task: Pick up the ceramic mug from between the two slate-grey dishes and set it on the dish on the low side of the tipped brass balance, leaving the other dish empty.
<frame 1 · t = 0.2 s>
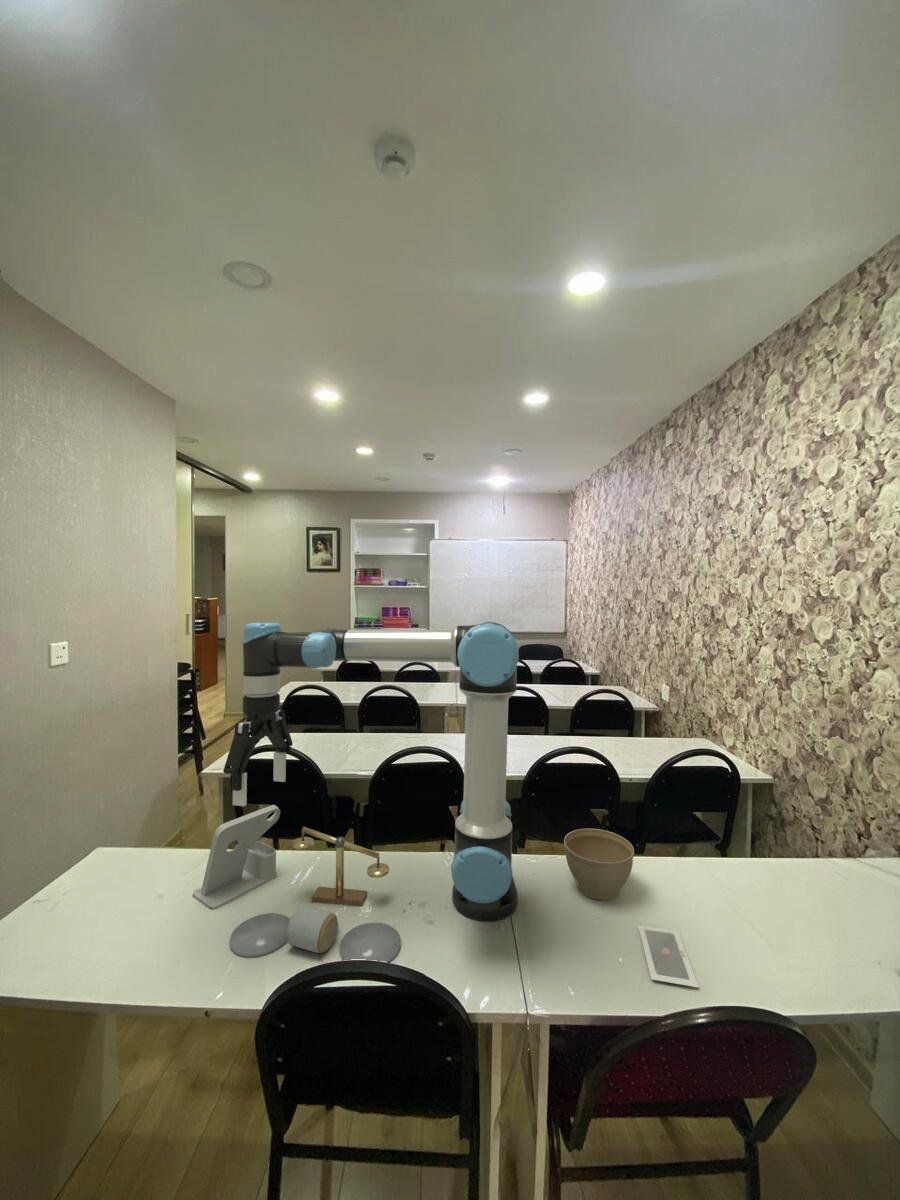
hand: (260, 792, 102), 28 cm above the table, fingers open, 13 cm apart
balance: (339, 898, 110), on the table
ceramic mug: (315, 942, 96), on the table
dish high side: (261, 936, 97), on the table
phone holder: (237, 885, 115), on the table
dish low side: (370, 946, 94), on the table
planter bowl: (598, 890, 114), on the table
touchpad: (665, 960, 92), on the table
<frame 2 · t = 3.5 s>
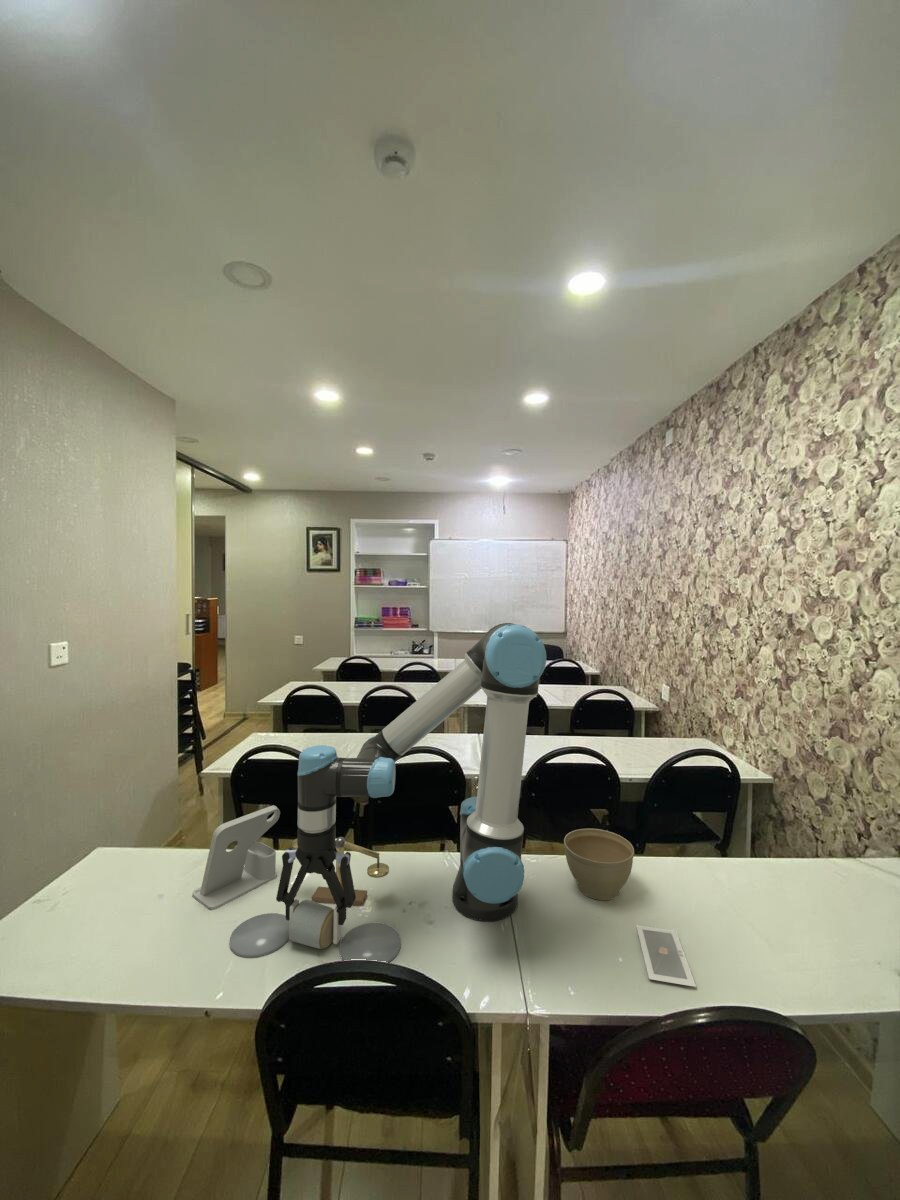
hand: (315, 937, 96), 1 cm above the table, fingers closed on ceramic mug, 8 cm apart
ceramic mug: (317, 938, 97), on the table, touching gripper
everything else where it was.
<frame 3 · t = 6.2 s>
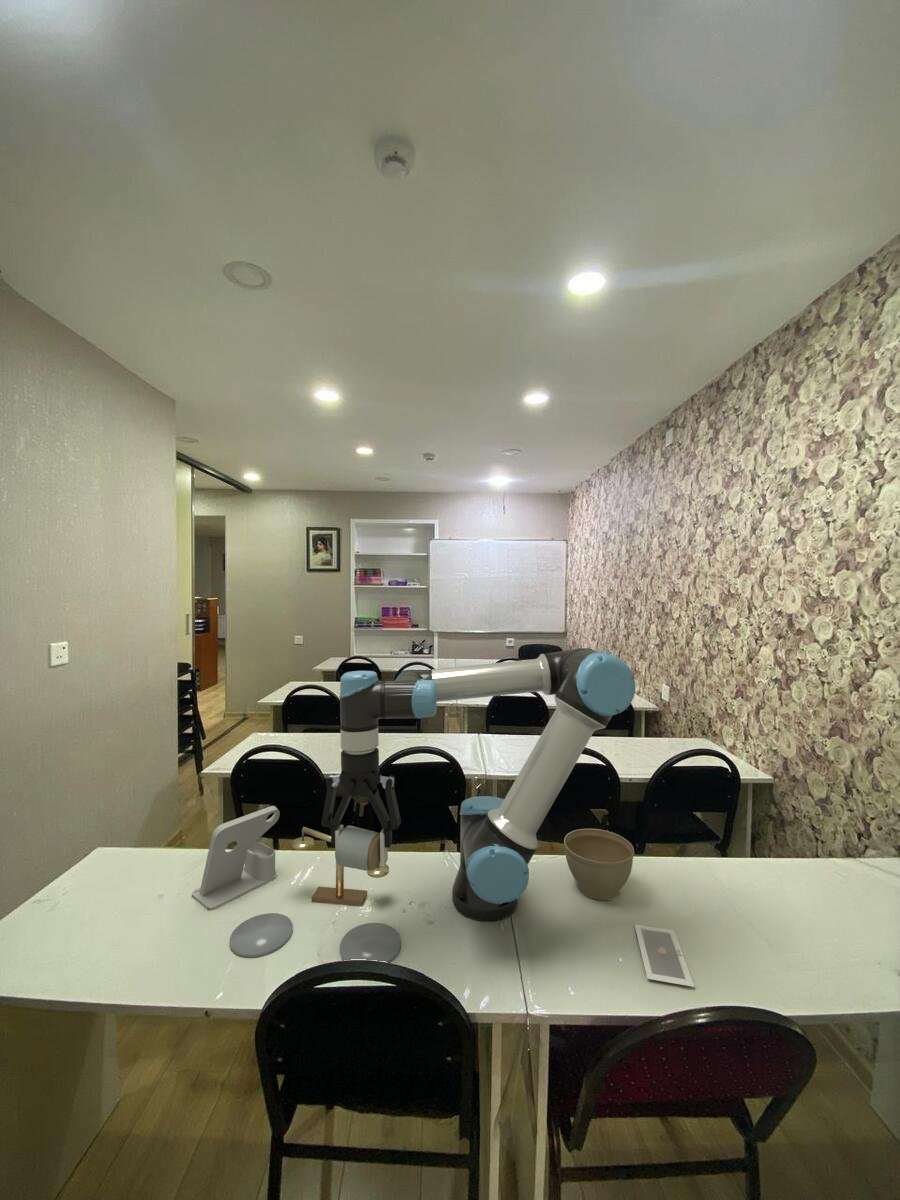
hand: (361, 861, 95), 17 cm above the table, fingers closed on ceramic mug, 8 cm apart
ceramic mug: (363, 863, 96), point 16 cm above the table, touching gripper
everything else where it was.
when the fingers open (3 cm above the table, at t = 8.9 s): ceramic mug stays where it is, resting on dish low side.
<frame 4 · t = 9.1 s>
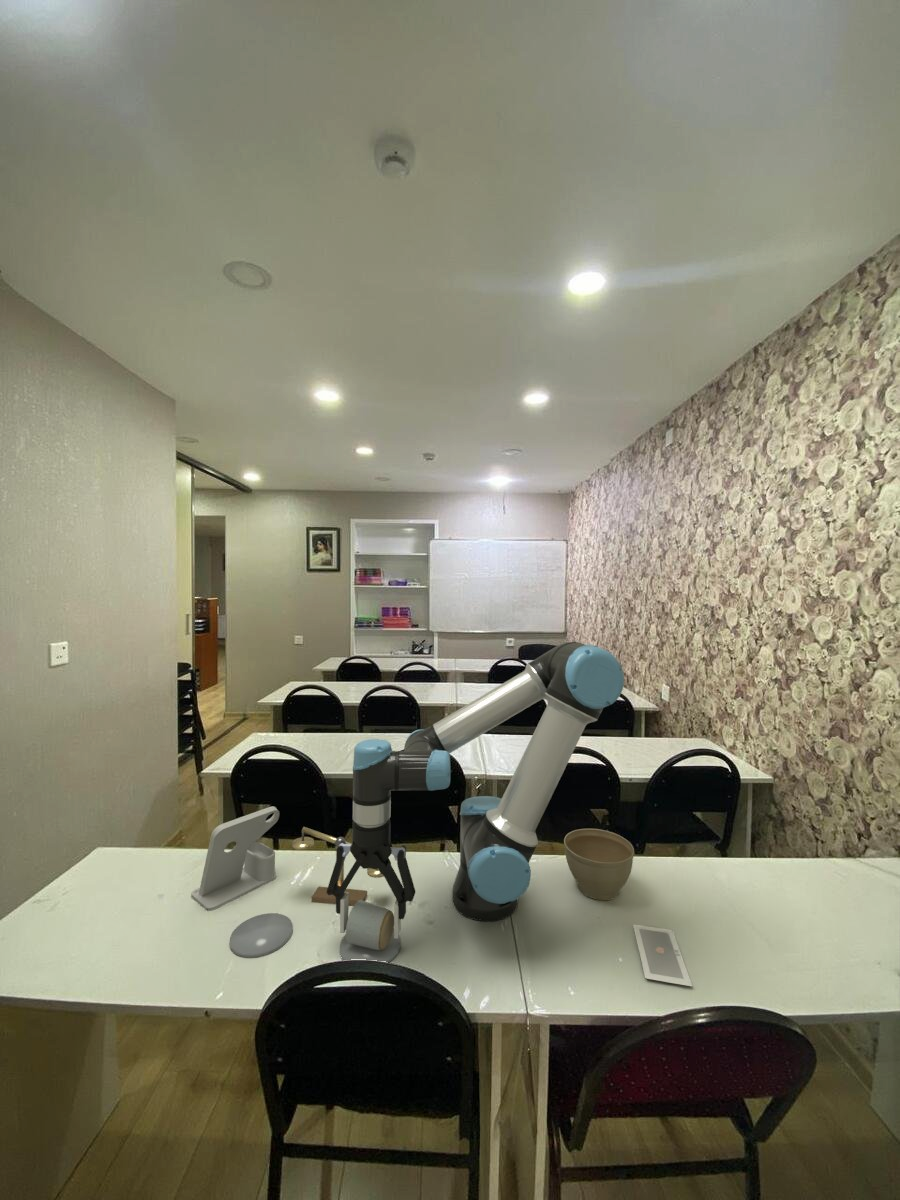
hand: (370, 931, 94), 3 cm above the table, fingers open, 10 cm apart
ceramic mug: (372, 940, 95), point 1 cm above the table, touching dish low side
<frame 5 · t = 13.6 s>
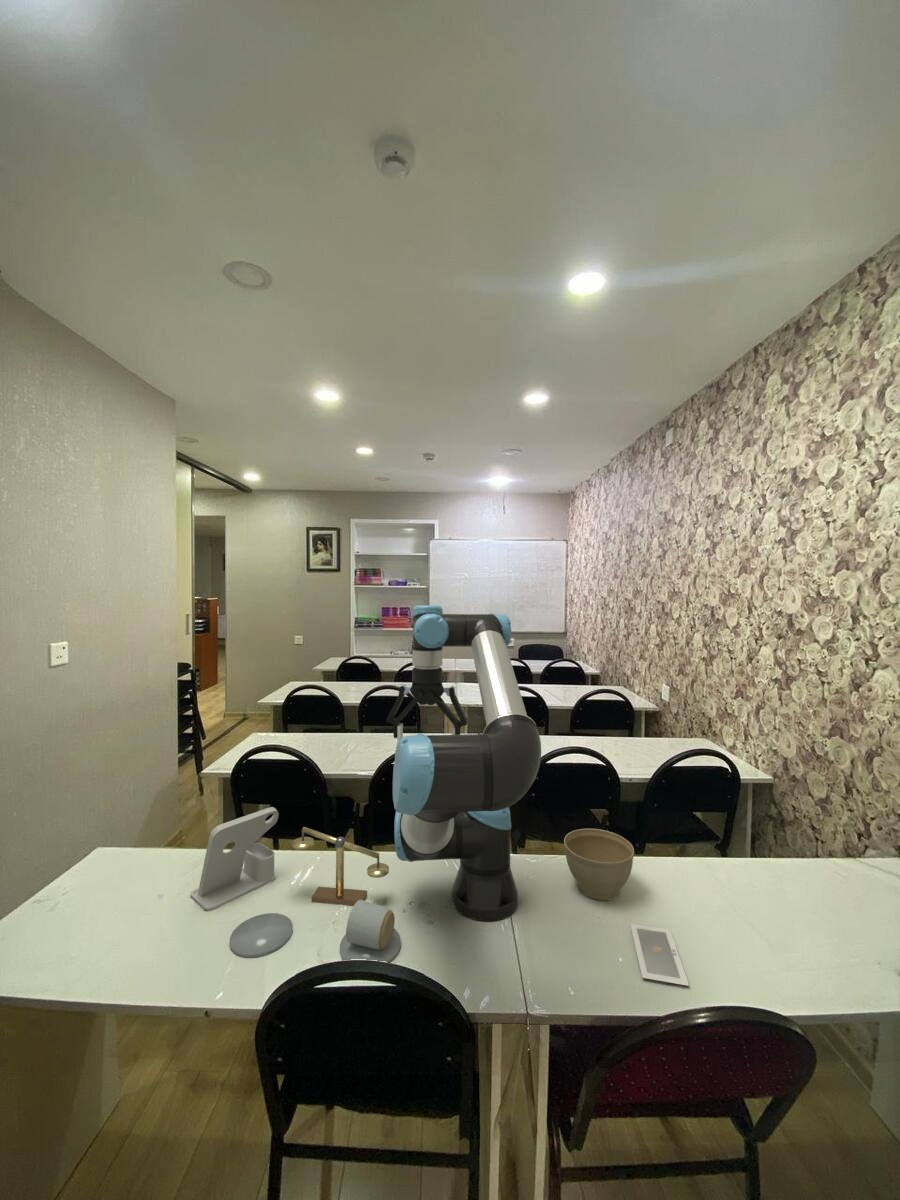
hand: (426, 752, 118), 32 cm above the table, fingers open, 13 cm apart
at the end: ceramic mug inside the target area on the dish low side (1.2 cm from its centre), point 0.6 cm above the dish low side's base; ceramic mug tilted 1°; the gripper is holding nothing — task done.
